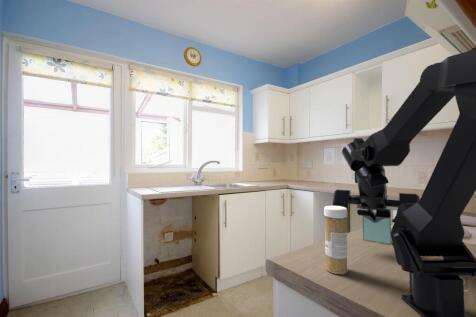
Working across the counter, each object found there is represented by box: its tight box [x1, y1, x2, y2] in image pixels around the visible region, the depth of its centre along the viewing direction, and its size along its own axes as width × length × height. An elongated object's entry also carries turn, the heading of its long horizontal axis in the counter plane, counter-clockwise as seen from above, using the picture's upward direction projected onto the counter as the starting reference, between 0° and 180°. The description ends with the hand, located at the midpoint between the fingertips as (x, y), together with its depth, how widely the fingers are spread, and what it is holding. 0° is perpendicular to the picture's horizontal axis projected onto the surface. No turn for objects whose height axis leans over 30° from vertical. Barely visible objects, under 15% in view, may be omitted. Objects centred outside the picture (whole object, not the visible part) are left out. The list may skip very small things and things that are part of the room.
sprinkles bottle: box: [323, 205, 349, 275], centre depth 49 cm, size 5×5×13 cm
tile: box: [362, 210, 393, 245], centre depth 67 cm, size 2×7×8 cm, turn 56°
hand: (375, 221), depth 64 cm, fingers closed
